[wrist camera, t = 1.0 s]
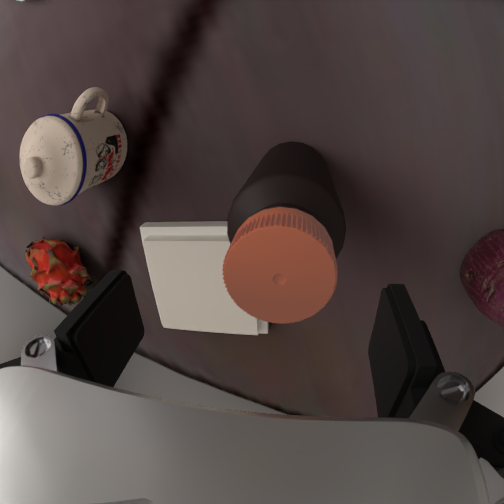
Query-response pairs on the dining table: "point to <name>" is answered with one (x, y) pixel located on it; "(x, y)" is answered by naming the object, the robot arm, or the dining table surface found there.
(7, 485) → the robot arm
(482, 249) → the vegetable
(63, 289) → the dragon fruit
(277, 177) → the dark brown water bottle
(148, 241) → the stand
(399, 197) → the dining table surface
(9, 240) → the dining table surface
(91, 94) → the teacup with lid
